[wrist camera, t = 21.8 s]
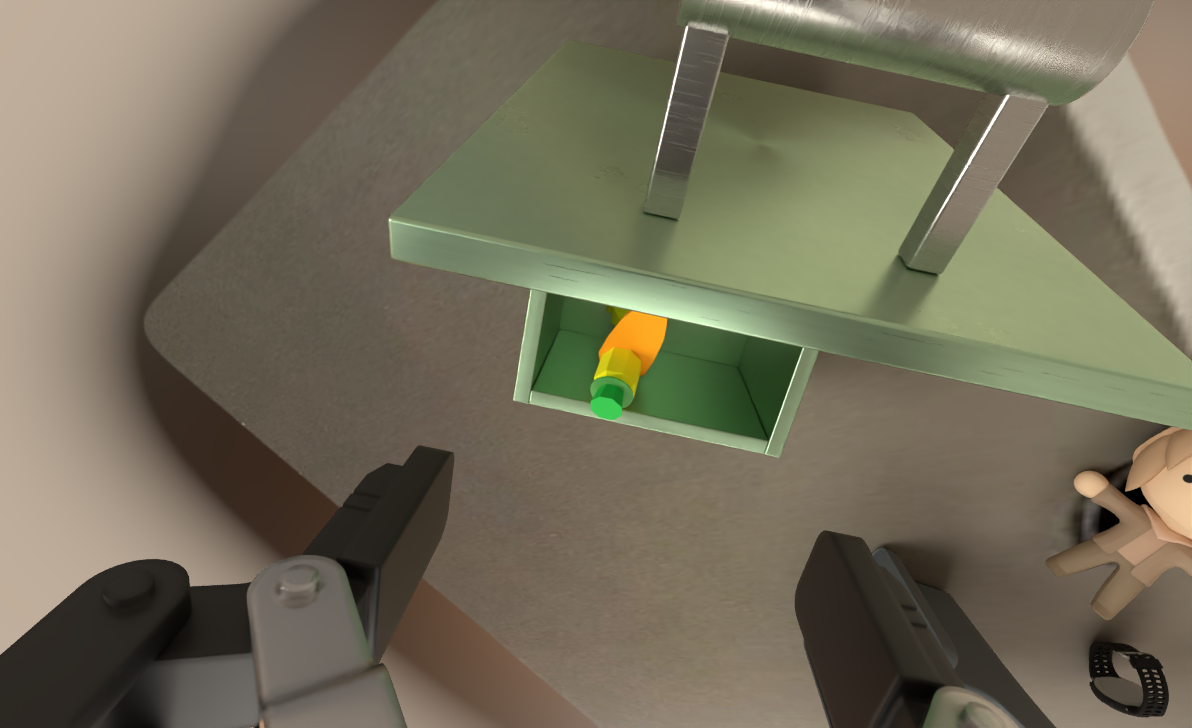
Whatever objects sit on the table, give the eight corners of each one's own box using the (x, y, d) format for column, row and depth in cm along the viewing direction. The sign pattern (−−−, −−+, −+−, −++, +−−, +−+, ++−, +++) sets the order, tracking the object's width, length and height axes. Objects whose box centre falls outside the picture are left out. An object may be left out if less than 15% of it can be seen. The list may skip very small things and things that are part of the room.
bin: (744, 375, 38) (780, 458, 28) (547, 333, 38) (512, 401, 28) (823, 130, 33) (904, 123, 22) (591, 80, 33) (567, 52, 22)
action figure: (994, 532, 37) (1218, 363, 31) (1018, 523, 45) (1201, 386, 39) (1155, 685, 31) (1467, 512, 26) (1151, 643, 39) (1388, 504, 33)
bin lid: (1195, 433, 9) (1668, 40, 6) (389, 261, 9) (351, -241, 6) (903, 133, 22) (992, -46, 19) (564, 61, 22) (587, -132, 19)
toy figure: (652, 213, 33) (610, 328, 24) (707, 241, 33) (686, 366, 24) (605, 299, 37) (554, 425, 28) (654, 324, 37) (619, 456, 28)
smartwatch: (1060, 662, 45) (1108, 722, 40) (1103, 616, 43) (1158, 673, 38) (1107, 679, 45) (1160, 740, 40) (1151, 633, 43) (1213, 692, 38)
